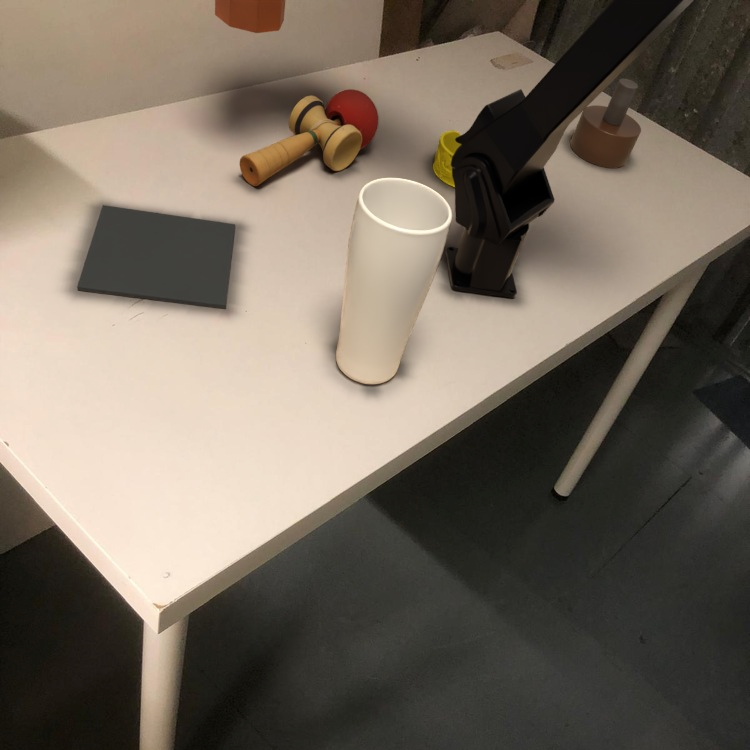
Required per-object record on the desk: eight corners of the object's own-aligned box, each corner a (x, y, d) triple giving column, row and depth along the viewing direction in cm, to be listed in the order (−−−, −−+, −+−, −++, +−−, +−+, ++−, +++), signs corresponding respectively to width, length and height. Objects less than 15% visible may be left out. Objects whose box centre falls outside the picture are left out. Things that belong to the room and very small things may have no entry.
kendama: (282, 218, 75) (396, 147, 84) (273, 156, 71) (396, 88, 79) (230, 193, 79) (345, 127, 87) (218, 132, 74) (342, 69, 82)
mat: (225, 309, 64) (225, 305, 63) (77, 290, 61) (76, 286, 61) (235, 227, 71) (235, 224, 71) (103, 208, 69) (102, 204, 68)
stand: (633, 172, 94) (666, 104, 87) (576, 162, 93) (606, 92, 86) (618, 141, 99) (649, 74, 92) (564, 131, 97) (592, 63, 91)
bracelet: (509, 193, 85) (519, 166, 82) (445, 192, 82) (453, 164, 80) (486, 158, 89) (495, 131, 86) (424, 155, 86) (431, 127, 84)
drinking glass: (357, 327, 66) (393, 165, 54) (420, 366, 64) (471, 209, 52) (309, 363, 62) (337, 197, 50) (375, 406, 60) (420, 246, 48)
